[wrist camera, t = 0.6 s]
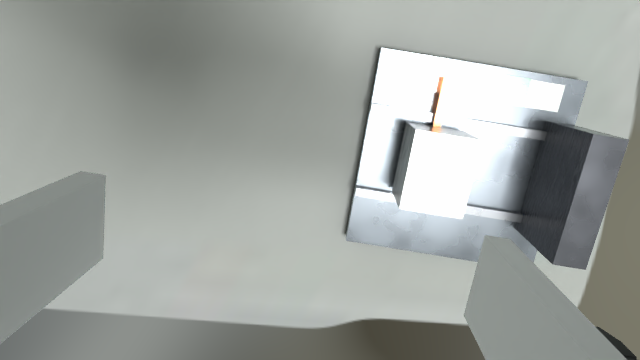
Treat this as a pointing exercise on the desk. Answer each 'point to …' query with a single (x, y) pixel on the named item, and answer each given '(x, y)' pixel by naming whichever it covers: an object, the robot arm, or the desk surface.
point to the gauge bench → (487, 161)
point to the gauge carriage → (436, 165)
